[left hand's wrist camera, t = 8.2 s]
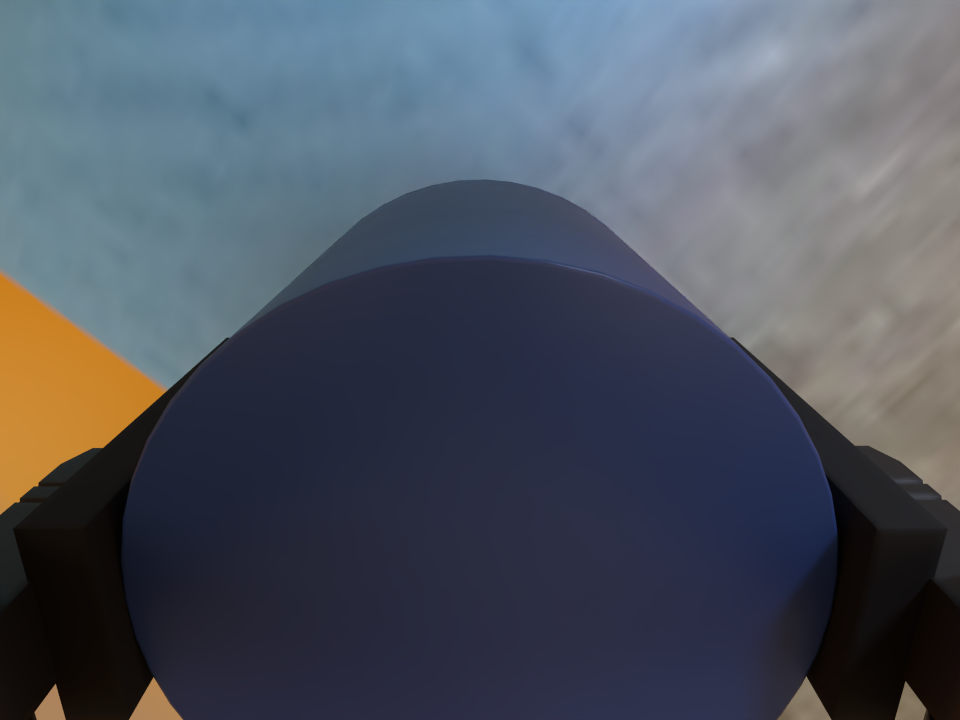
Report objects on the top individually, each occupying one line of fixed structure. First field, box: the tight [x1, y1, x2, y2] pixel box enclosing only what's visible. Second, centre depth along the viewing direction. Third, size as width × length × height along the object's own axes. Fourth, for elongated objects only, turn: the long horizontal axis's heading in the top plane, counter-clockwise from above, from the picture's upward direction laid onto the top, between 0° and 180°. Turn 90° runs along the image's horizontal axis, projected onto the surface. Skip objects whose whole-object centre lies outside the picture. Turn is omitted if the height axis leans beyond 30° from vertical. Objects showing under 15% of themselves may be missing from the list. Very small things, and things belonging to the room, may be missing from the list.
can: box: [121, 180, 838, 720], centre depth 12 cm, size 8×8×8 cm
